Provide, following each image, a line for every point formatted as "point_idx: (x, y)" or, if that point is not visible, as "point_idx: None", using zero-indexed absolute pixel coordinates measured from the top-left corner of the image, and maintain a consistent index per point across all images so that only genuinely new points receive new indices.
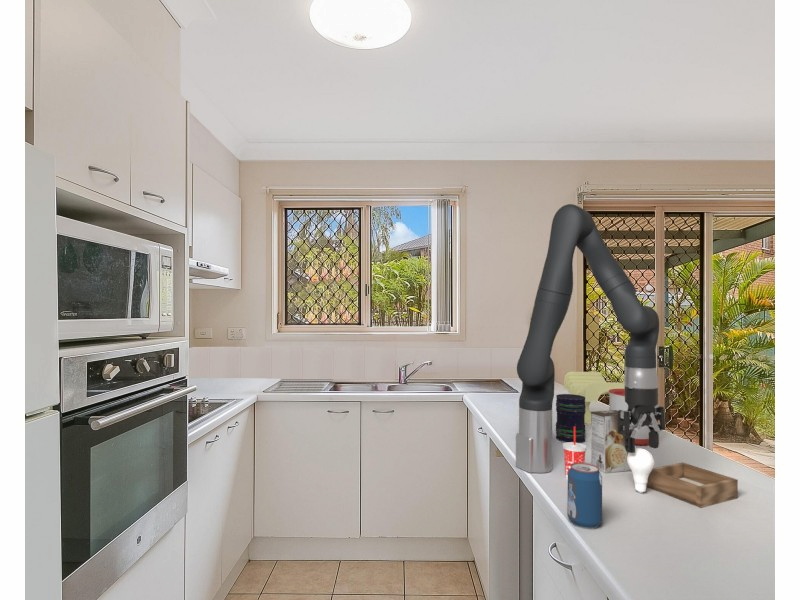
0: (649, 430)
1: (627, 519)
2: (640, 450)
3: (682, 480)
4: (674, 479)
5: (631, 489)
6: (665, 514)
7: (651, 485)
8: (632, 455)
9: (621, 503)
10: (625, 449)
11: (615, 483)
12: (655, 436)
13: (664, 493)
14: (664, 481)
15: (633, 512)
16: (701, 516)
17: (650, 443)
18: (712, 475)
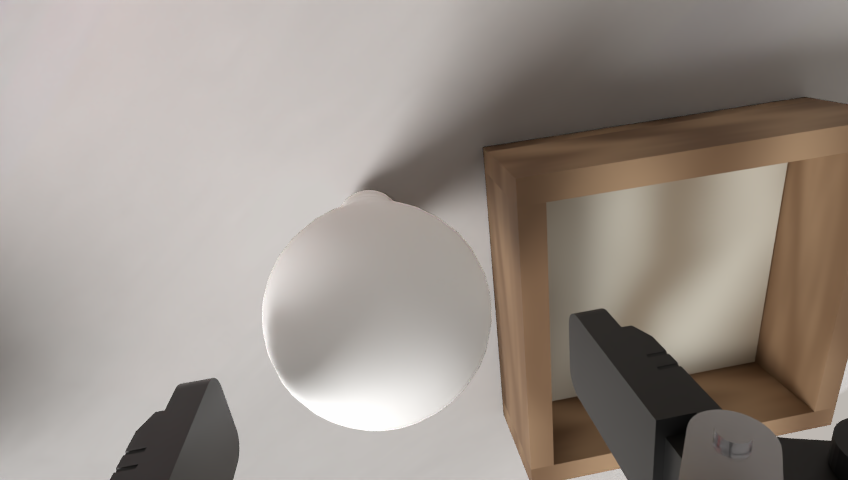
0: (687, 438)
1: (61, 457)
2: (352, 408)
3: (547, 391)
4: (525, 362)
5: (352, 155)
6: (287, 441)
7: (489, 182)
8: (275, 355)
9: (145, 312)
10: (155, 413)
11: (320, 31)
12: (634, 475)
13: (491, 255)
14: (511, 286)
15: (141, 406)
16: (426, 473)
17: (584, 348)
18: (822, 319)
